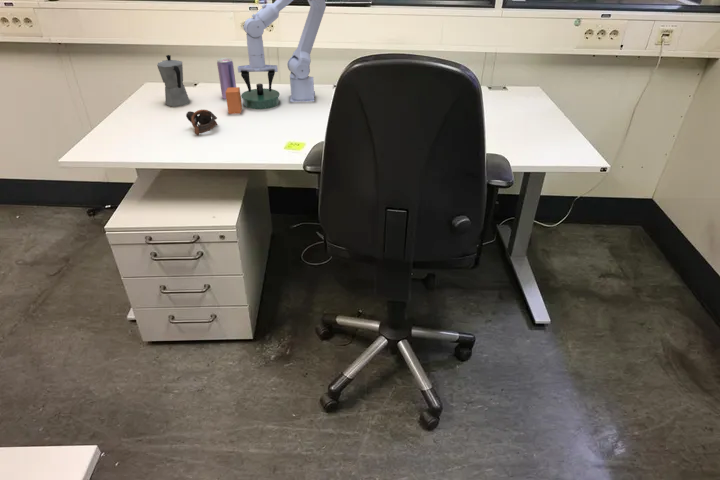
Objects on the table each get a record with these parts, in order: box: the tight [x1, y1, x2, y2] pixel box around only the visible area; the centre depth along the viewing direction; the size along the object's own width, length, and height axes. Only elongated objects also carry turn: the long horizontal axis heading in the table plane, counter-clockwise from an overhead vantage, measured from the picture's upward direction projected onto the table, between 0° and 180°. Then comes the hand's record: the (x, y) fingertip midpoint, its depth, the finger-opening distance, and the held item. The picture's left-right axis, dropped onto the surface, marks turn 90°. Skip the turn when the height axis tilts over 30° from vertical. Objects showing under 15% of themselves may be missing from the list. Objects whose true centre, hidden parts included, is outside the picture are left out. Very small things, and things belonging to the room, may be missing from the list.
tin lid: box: [240, 83, 281, 102], centre depth 190 cm, size 14×14×5 cm
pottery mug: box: [185, 109, 219, 136], centre depth 170 cm, size 12×10×8 cm
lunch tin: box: [242, 96, 280, 110], centre depth 192 cm, size 13×13×4 cm
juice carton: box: [225, 86, 243, 115], centre depth 184 cm, size 4×6×8 cm
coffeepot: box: [156, 54, 190, 108], centre depth 188 cm, size 15×9×18 cm, turn 36°
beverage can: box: [216, 57, 237, 100], centre depth 195 cm, size 6×6×15 cm
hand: (260, 90), depth 190 cm, fingers open, 7 cm apart
